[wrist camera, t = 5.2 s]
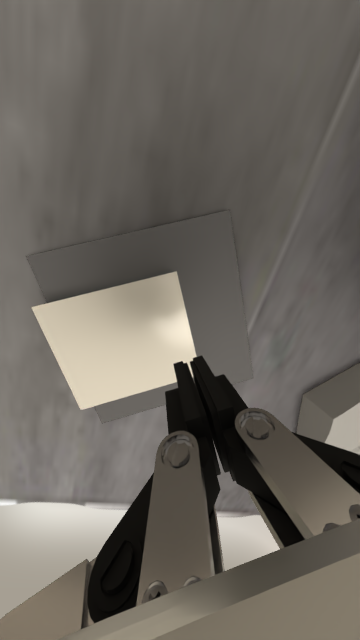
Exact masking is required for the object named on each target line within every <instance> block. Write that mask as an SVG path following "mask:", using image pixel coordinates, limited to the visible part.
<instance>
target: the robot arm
mask: <svg viewBox="0 0 360 640" xmlns="http://www.w3.org/2000/svg"><path fill="white" fill-rule="evenodd" d="M173 365H174V370H175V375H176V379H177V384H178V388H175V389H172V390H169V391H165V398H166V410H167V421H168V432H169V435H168V436H166V437H165V438H164V439H163V440H162V442H161V443H160V445H159V447H158V450H157V454H156V461H155V468H154V473H153V475H152V476H151V477H150V479H149V480H148V482H147V483H146V485H145V486H144V488H143V489H142V490H141V492H140V493H139V495H138V496H137V498H136V499H135V501H134V502H133V503H132V505H131V506H130V508H129V509H128V511H127V512H126V514H125V515H124V517H123V518H122V519H121V521H120V522H119V524H118V525H117V527H116V528H115V529H114V531H113V533H112V534H111V535H110V537H109V538H108V540H107V541H106V542H105V544H104V546H103V547H102V549H101V551H100V552H99V554H98V556H97V557H96V558H95V559H93V560H92V561H91V562H89V561H88V560H87V559H86V560H84V561H83V562H82V563H80V564H78V565H77V566H76V567H74V568H73V569H71V570H70V571H68V572H67V573H66V574H64V575H62V576H61V577H60V578H58V579H57V580H55V581H54V582H52V583H51V584H49V585H48V586H47V587H45V588H44V589H42V590H41V591H39V592H38V593H36V594H35V595H34V596H32V597H30V598H29V599H28V600H26V601H25V602H23V603H22V604H20V605H19V606H17V607H16V608H14V609H13V610H11V611H10V612H9V613H7V614H6V615H5V616H4V617H2V618H1V619H0V640H360V455H359V454H357V453H354V452H351V451H348V450H345V449H342V448H339V447H335V446H332V445H329V444H326V443H323V442H320V441H317V440H314V439H311V438H308V437H305V436H302V435H299V434H296V433H293V432H291V431H290V430H289V429H288V428H286V427H285V426H284V425H283V424H282V423H281V422H280V421H279V420H278V419H277V418H275V417H274V416H273V415H272V414H270V413H269V412H267V411H265V410H263V409H259V408H248V407H247V405H246V404H245V403H244V401H243V400H242V398H241V397H240V396H239V394H238V393H237V391H236V390H235V389H234V387H233V386H232V384H231V383H230V382H229V380H228V379H227V377H226V376H225V375H224V374H222V375H219V376H214V374H213V372H212V371H211V369H210V367H209V366H208V364H207V363H206V361H205V359H204V358H203V356H202V355H201V356H198V357H195V358H193V361H190V365H191V369H192V373H193V377H194V380H193V377H192V375H191V372H190V369H189V367H188V364H187V363H183V361H181V362H177V363H174V364H173ZM194 381H195V383H194ZM213 441H214V443H213ZM214 444H215V447H216V450H217V453H218V455H219V458H220V461H221V464H222V467H223V469H224V472H228V471H230V474H231V477H232V479H233V481H235V480H236V482H237V484H239V485H241V486H242V487H244V488H246V489H247V490H248V493H249V495H250V497H251V499H252V501H253V502H254V504H255V506H256V508H257V509H258V511H259V513H260V515H261V516H262V518H263V520H264V522H265V523H266V525H267V527H268V528H269V530H270V532H271V534H272V536H273V537H274V539H275V541H276V543H277V544H278V546H279V548H280V550H278V551H275V552H272V553H270V554H268V555H265V556H262V557H260V558H257V559H255V560H252V561H250V562H247V563H244V564H242V565H239V566H237V567H234V568H232V569H229V570H227V571H225V570H224V563H223V556H222V550H221V543H220V535H219V529H218V522H217V515H216V509H215V505H214V504H215V502H216V499H217V497H218V494H219V491H220V486H219V482H218V478H217V475H220V474H221V472H220V468H219V464H218V460H217V456H216V452H215V448H214Z"/></svg>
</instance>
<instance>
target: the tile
mask: <svg viewBox="0 0 360 640" xmlns="http://www.w3.org/2000/svg"><path fill="white" fill-rule="evenodd" d="M31 308H32V310H33V312H34V314H35V316H36V318H37V320H38V322H39V324H40V326H41V328H42V330H43V333H44V335H45V337H46V339H47V341H48V343H49V345H50V347H51V349H52V351H53V353H54V355H55V357H56V359H57V361H58V364H59V366H60V368H61V370H62V372H63V374H64V376H65V378H66V380H67V382H68V384H69V386H70V388H71V390H72V392H73V395H74V397H75V399H76V401H77V403H78V405H79V407H80V409H81V410H83V409H86V408H90V407H93V406H97V405H100V404H103V403H107V402H110V401H114V400H117V399H120V398H124V397H127V396H131V395H134V394H138V393H141V392H144V391H148V390H151V389H155V388H158V387H162V386H165V385H168V384H172V383H175V382H177V379H176V375H175V370H174V365H173V364H174V363H177V362H181V361H183V363H187V364H188V367H189V369H190V372H191V375H192V377H193V373H192V369H191V365H190V361H193V358H195V357H197V356H196V352H195V348H194V343H193V339H192V335H191V330H190V326H189V322H188V318H187V313H186V309H185V305H184V301H183V296H182V292H181V288H180V284H179V279H178V275H177V271H176V272H172V273H168V274H164V275H160V276H156V277H152V278H148V279H144V280H140V281H135V282H131V283H127V284H123V285H119V286H115V287H111V288H107V289H103V290H99V291H95V292H91V293H87V294H83V295H79V296H75V297H71V298H67V299H63V300H59V301H55V302H51V303H47V304H43V305H39V306H35V307H31Z"/></svg>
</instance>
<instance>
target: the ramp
mask: <svg viewBox="0 0 360 640" xmlns="http://www.w3.org/2000/svg"><path fill="white" fill-rule="evenodd" d="M296 434H299V435H302V436H305V437H308V438H311V439H314V440H317V441H320V442H323V443H326V444H329V445H332V446H335V447H339V448H342V449H345V450H348V451H351V452H354V453H357V454H359V455H360V363H358V364H356V365H354V366H353V367H351V368H349V369H347V370H346V371H344V372H342V373H340V374H339V375H337V376H335V377H333V378H331V379H330V380H328V381H326V382H324V383H323V384H321V385H319V386H317V387H316V388H314V389H312V390H310V391H309V392H307V393H305V394H303V397H302V403H301V408H300V414H299V420H298V425H297V431H296Z"/></svg>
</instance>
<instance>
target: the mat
mask: <svg viewBox="0 0 360 640" xmlns="http://www.w3.org/2000/svg"><path fill="white" fill-rule="evenodd" d="M26 257H27V260H28V262H29V264H30V266H31V268H32V271H33V273H34V275H35V277H36V279H37V282H38V284H39V286H40V288H41V290H42V293H43V295H44V297H45V299H46V301H47V303H51V302H55V301H59V300H63V299H67V298H71V297H75V296H79V295H83V294H87V293H91V292H95V291H99V290H103V289H107V288H111V287H115V286H119V285H123V284H127V283H131V282H135V281H140V280H144V279H148V278H152V277H156V276H160V275H164V274H168V273H172V272H176V271H177V275H178V279H179V284H180V288H181V292H182V296H183V301H184V305H185V309H186V313H187V318H188V322H189V326H190V330H191V335H192V339H193V343H194V348H195V352H196V356H197V357H198V356H201V355H202V356H203V358H204V359H205V361H206V363H207V364H208V366H209V367H210V369H211V371H212V372H213V374H214V376H219V375H222V374H224V375H225V376H226V377H227V379H228V380H229V382H230V383H231V384H232V385H233V384H236V383H239V382H243V381H246V380H249V379H253V370H252V363H251V356H250V349H249V342H248V335H247V327H246V320H245V313H244V306H243V299H242V292H241V284H240V277H239V270H238V263H237V256H236V249H235V242H234V234H233V227H232V220H231V213H230V210H226V211H222V212H217V213H213V214H208V215H204V216H200V217H195V218H191V219H187V220H182V221H178V222H173V223H169V224H165V225H160V226H156V227H151V228H147V229H143V230H138V231H134V232H130V233H125V234H121V235H116V236H112V237H108V238H103V239H99V240H94V241H90V242H86V243H81V244H77V245H73V246H68V247H64V248H59V249H55V250H51V251H46V252H42V253H37V254H33V255H29V256H26ZM193 380H194V377H193ZM194 383H195V381H194ZM175 388H178V384H177V382H175V383H172V384H168V385H165V386H162V387H158V388H155V389H151V390H148V391H144V392H141V393H138V394H134V395H131V396H127V397H124V398H120V399H117V400H114V401H110V402H107V403H103V404H100V405H97V406H94V407H95V409H96V411H97V414H98V416H99V418H100V420H101V422H102V423H106V422H109V421H112V420H116V419H119V418H122V417H126V416H129V415H133V414H136V413H139V412H143V411H146V410H149V409H153V408H156V407H159V406H163V405H166V398H165V391H169V390H172V389H175Z"/></svg>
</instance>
